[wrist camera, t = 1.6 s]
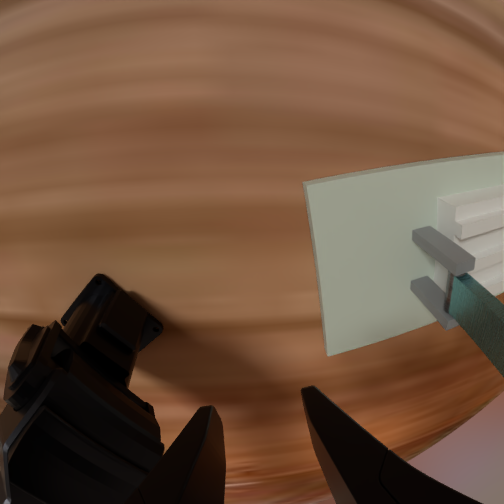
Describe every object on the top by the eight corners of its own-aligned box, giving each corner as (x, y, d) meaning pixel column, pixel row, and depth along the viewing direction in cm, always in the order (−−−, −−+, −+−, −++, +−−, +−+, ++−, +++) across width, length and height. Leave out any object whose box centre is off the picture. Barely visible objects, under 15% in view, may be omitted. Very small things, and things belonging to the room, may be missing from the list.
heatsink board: (324, 348, 25) (346, 406, 19) (302, 182, 19) (335, 213, 13) (512, 280, 24) (548, 312, 19) (525, 149, 19) (576, 167, 13)
